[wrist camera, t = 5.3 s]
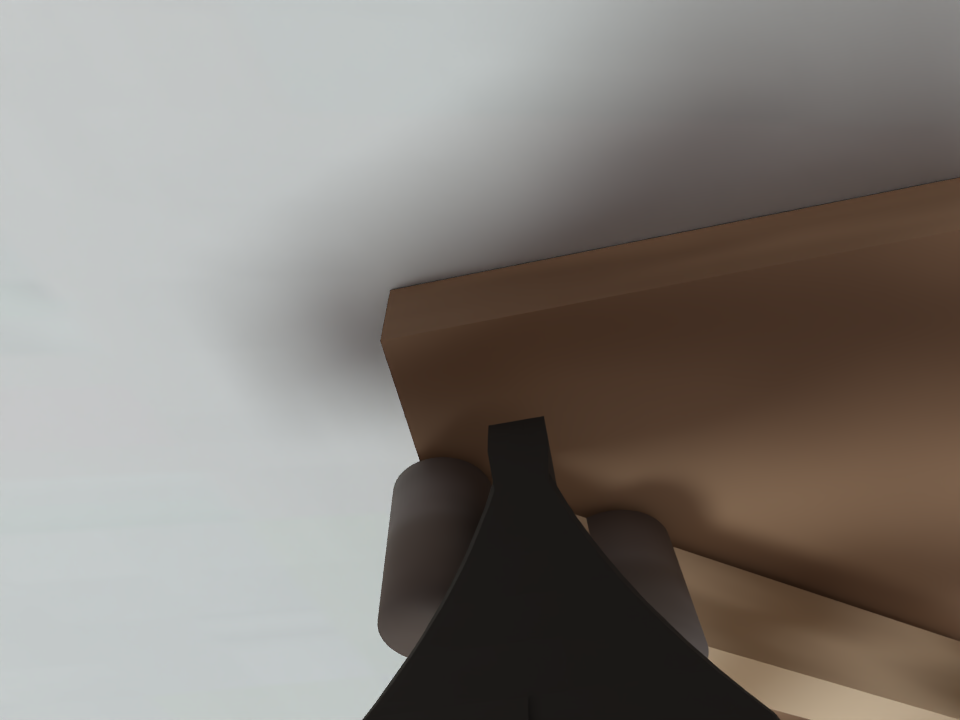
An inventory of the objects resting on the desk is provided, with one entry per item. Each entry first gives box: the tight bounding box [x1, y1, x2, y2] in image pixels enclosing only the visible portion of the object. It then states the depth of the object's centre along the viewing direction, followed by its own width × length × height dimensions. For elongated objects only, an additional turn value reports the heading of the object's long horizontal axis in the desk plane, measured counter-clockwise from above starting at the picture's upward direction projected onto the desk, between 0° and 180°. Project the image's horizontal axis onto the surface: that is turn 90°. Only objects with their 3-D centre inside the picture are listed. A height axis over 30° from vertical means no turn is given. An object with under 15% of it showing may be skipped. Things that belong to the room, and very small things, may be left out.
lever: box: [378, 457, 960, 720], centre depth 14 cm, size 15×2×3 cm, turn 65°
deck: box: [380, 178, 960, 720], centre depth 17 cm, size 18×13×2 cm
